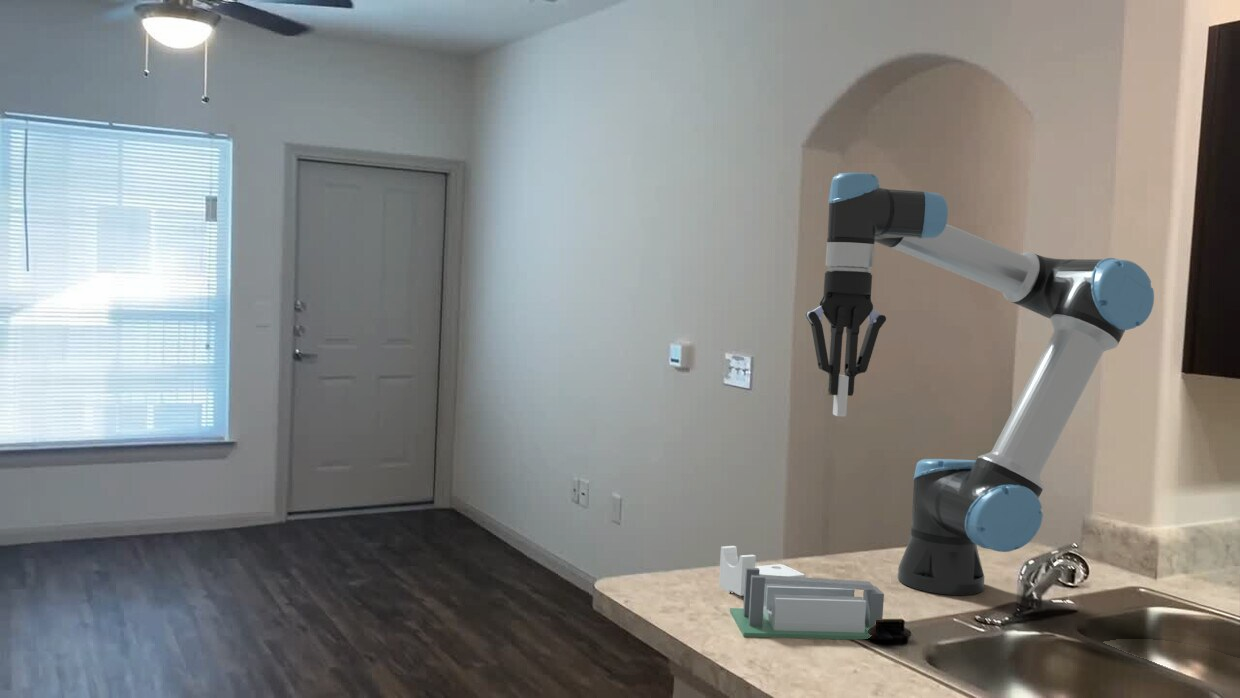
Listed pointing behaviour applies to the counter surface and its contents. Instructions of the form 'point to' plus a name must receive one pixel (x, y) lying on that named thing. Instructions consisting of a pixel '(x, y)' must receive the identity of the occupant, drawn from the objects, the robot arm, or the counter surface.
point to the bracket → (736, 569)
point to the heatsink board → (805, 611)
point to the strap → (817, 582)
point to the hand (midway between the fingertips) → (839, 415)
